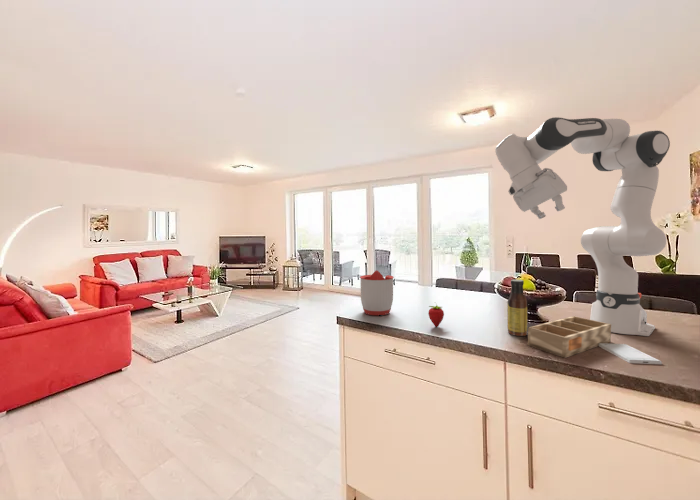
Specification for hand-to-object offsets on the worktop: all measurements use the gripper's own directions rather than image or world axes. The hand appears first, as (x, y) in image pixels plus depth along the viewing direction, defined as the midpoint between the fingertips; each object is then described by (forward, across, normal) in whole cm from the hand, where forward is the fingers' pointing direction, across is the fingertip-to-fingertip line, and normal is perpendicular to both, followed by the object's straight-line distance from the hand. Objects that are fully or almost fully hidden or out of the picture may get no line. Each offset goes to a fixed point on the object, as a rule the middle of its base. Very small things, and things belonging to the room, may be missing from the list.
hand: (551, 214), depth 97 cm
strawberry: (+19, +24, +48) cm, 57 cm away
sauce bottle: (+33, +16, +24) cm, 44 cm away
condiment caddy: (+40, +7, +14) cm, 43 cm away
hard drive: (+48, -1, +6) cm, 48 cm away
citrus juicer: (+5, +46, +65) cm, 79 cm away
